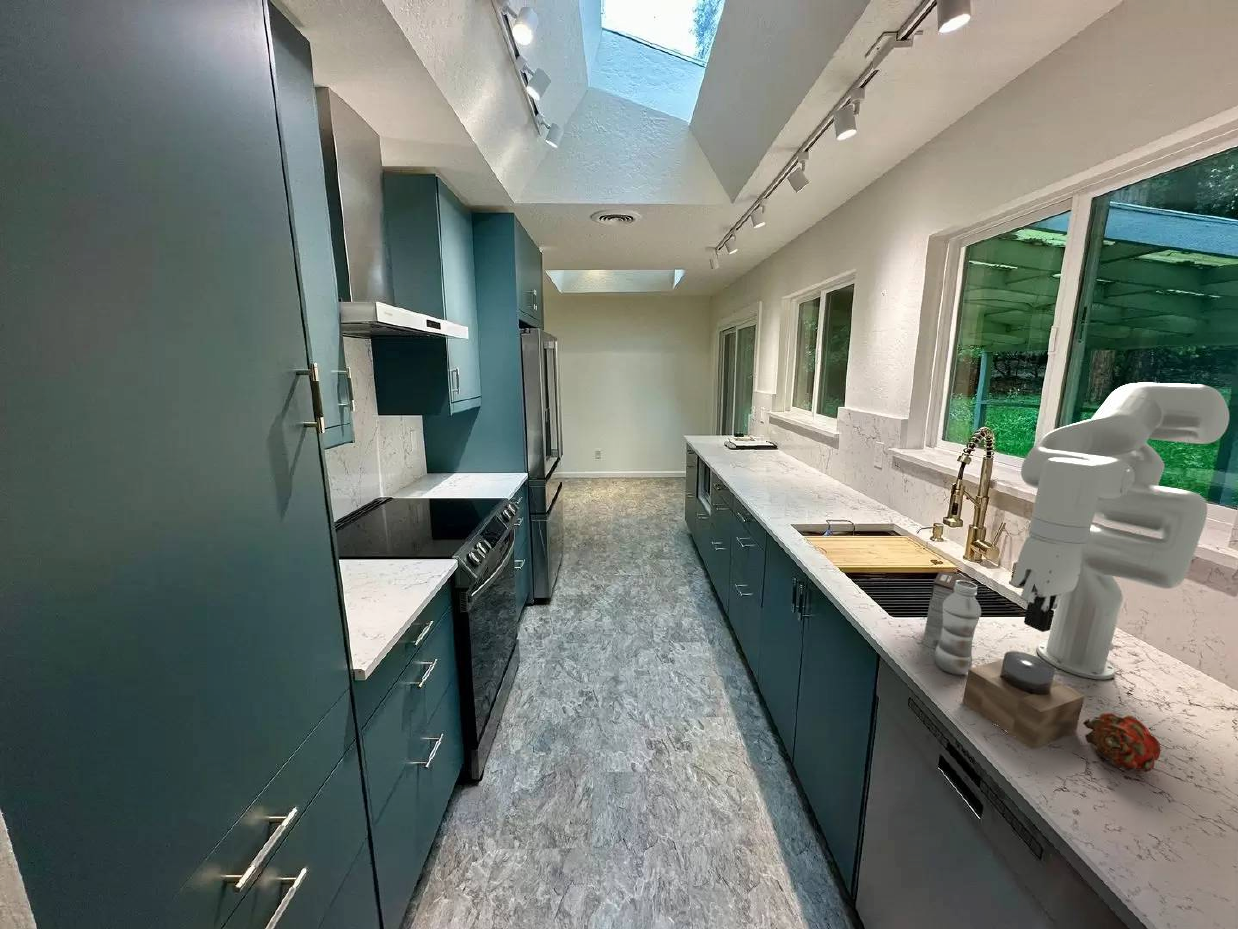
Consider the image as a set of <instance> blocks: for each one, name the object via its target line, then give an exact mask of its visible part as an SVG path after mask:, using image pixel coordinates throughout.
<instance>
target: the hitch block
mask: <svg viewBox="0 0 1238 929" xmlns="http://www.w3.org/2000/svg"><path fill="white" fill-rule="evenodd" d="M1003 660H1004V658H1002V659H998V660H995V661H992V662H988V663H985V664H981V665H978V666H975V667H971V668H970V669H969V670H968V672H967V676H966V681H965V686H964V690H963V691H964V692H963V696H962V701H961V703H962V702H963V703H962V704H964V705H965V706H966V707H968V706H969V707H968V708H970V709H971V708H972V709H971V710H973V711H975V712H976V713H977V712H978V713H977V714H978V715H980V714H981V715H980V716H981V717H983V718H984V719H986V718H987V719H986V720H988V721H989V720H990V721H989V722H990V723H992V724H994V725H995V724H996V725H995V726H997V725H998V726H999V727H998V726H997V727H998V728H999V729H1001V728H1002V730H1003V731H1004V730H1006V731H1007V732H1008V733H1007V732H1006V731H1005V732H1006V733H1007V734H1008V735H1010V734H1011V735H1010V736H1012V737H1013V736H1015V737H1016V738H1017V739H1016V738H1015V737H1014V738H1015V739H1016V740H1018V741H1019V740H1020V741H1019V742H1021V743H1022V742H1023V743H1022V744H1024V745H1025V744H1026V745H1025V746H1027V747H1028V748H1030V749H1031V750H1035V749H1037V748H1039V747H1041V746H1044V745H1046V744H1049V743H1052V742H1054V741H1057V740H1059V739H1061V738H1064V737H1067V736H1069V735H1073V734H1074V733H1076V732H1077V730H1078V729H1077V728H1078V724H1079V720H1080V717H1081V713H1082V709H1083V705H1084V702H1085V701H1084V700H1085V695H1084V694H1081V693H1080V692H1078V691H1076V690H1074V689H1071V688H1070V687H1069V686H1066V685H1064V684H1063V683H1061V682H1058V681H1057V680H1055V679H1053V681H1052V685H1051V689H1050V693H1049V694H1047V695H1035V694H1033V695H1031V694H1029V693H1027V692H1024V691H1021V690H1019V689H1017V688H1015V687H1013V686H1011V685H1009V684H1008V683H1007V682H1005V681H1004V680H1003V679H1002V677H1001V669H1002V665H1003Z"/></svg>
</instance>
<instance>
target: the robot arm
mask: <svg viewBox="0 0 1238 929" xmlns="http://www.w3.org/2000/svg"><path fill="white" fill-rule="evenodd" d="M1229 423H1230V410H1229V408H1228V405H1227V402H1226V400H1225V398H1224V396H1223V395H1222V394H1221V392H1219V391H1218V390H1217V389H1216V388H1214V387H1211V386H1209V385H1205V384H1195V383H1194V384H1191V383H1165V382H1164V383H1160V382H1158V383H1157V382H1137V383H1135V382H1134V383H1128V384H1125V385H1122V386H1120V387H1118V388H1117V389H1115V390H1114V391H1112V392H1111V393H1110V394H1109V396H1108V397H1107V398H1106V399H1105V401H1104V402H1103V403H1102V404H1101V406H1100V407H1099V409H1098V410H1097V411H1096V412H1095V413H1094V415H1093V416H1092V417H1091V419H1086V420H1082V421H1079V422H1076V423H1071V424H1069V425H1066V426H1062V427H1059V428H1056V429H1054V430H1051V431H1049V432H1048V433H1046V434H1045V435H1043V436H1041V437H1040V439H1039V440H1038V441H1037V442H1036V443H1035V444H1034V445H1033V447H1032V448H1031V449H1030V450H1029V452H1028V453H1027V455H1026V456H1025V458H1024V460H1023V462H1022V465H1021V468H1020V469H1021V470H1020V475H1021V478H1022V481H1023V482H1024V483H1025V484H1026V485H1027V486H1029V487H1031V488H1034V489H1036V495H1035V498H1034V499H1035V500H1034V503H1033V504H1034V505H1033V509H1032V513H1031V518H1030V523H1029V526H1028V527H1029V528H1028V532H1027V534H1028V535H1027V537H1026V538H1025V540H1024V542H1023V545H1022V547H1021V550H1020V552H1019V555H1018V559H1017V562H1016V564H1015V565H1016V566H1015V570H1014V573H1013V576H1012V577H1013V578H1012V582H1011V584H1012V586H1013V587H1014V588H1016V589H1020V588H1022V591H1021V594H1020V600H1023V601H1025V602H1026V605H1027V606H1026V611H1025V616H1024V620H1023V623H1024V625H1026V626H1028V627H1031V628H1032V629H1035V630H1037V631H1038V632H1042V633H1044V632H1048V631H1049V635H1048V639H1047V640H1046V641H1045V640H1044V641H1041V642H1039V643H1038V644H1037V646H1036V652H1037V654H1038V655H1039V656H1040V658H1041V659H1042V660H1044V661H1046V662H1047V663H1049V664H1050V665H1051V666H1054V667H1056V668H1058V669H1060V670H1061V671H1064V672H1068V673H1069V674H1072V675H1076V676H1078V677H1083V678H1087V679H1091V680H1110V679H1112V678H1114V676H1115V673H1116V668H1115V667H1114V665H1113V664H1112V663H1110V662H1109V661H1108V657H1109V653H1110V651H1114V649H1115V646H1114V644H1113V643H1112V642H1113V639H1114V634H1115V630H1116V627H1117V624H1118V620H1119V616H1120V612H1121V608H1122V605H1123V600H1124V597H1123V592H1122V590H1121V587H1120V586H1119V584H1118V582H1117V580H1116V579H1115V578H1114V577H1116V578H1121V579H1125V580H1127V581H1128V580H1129V581H1131V582H1135V583H1138V584H1143V585H1147V586H1151V587H1155V588H1159V589H1163V590H1166V589H1167V590H1168V589H1169V590H1171V589H1175V588H1177V587H1179V586H1180V585H1181V584H1182V582H1184V580H1185V578H1186V576H1187V574H1188V571H1189V570H1190V567H1191V563H1192V561H1193V557H1194V554H1195V553H1196V549H1197V547H1198V544H1199V541H1200V539H1201V535H1202V534H1203V530H1204V527H1205V523H1206V520H1207V516H1208V504H1207V501H1206V499H1205V498H1204V497H1203V496H1202V495H1201V494H1199V493H1197V492H1194V491H1190V490H1187V489H1186V490H1185V489H1180V488H1174V487H1168V486H1160V485H1159V483H1160V481H1161V478H1162V475H1163V474H1164V471H1165V463H1164V460H1162V457H1161V456H1160V454H1158V453H1157V451H1156V450H1155V449H1154V448H1153V447H1152V446H1151V445H1149V443H1147V442H1148V441H1149V440H1157V441H1165V442H1166V441H1167V442H1176V443H1185V444H1186V443H1187V444H1197V445H1198V444H1199V445H1201V444H1202V445H1206V444H1211V443H1215V442H1216V441H1217V440H1219V439H1220V438H1221V437H1223V435H1224V434H1225V432H1226V430H1227V429H1228V425H1229ZM1094 518H1095V519H1097V520H1100V521H1101V522H1105V523H1107V524H1108V523H1109V524H1112V525H1117V526H1121V527H1125V528H1131V529H1134V530H1135V529H1136V530H1140V531H1143V532H1144V531H1145V532H1147V533H1154V534H1157V535H1159V536H1160V537H1161V538H1158V537H1154V536H1150V535H1145V534H1140V533H1137V532H1132V531H1129V530H1123V529H1120V528H1114V527H1109V526H1104V525H1100V524H1093V521H1094Z"/></svg>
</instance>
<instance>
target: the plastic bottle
mask: <svg viewBox="0 0 1238 929" xmlns="http://www.w3.org/2000/svg"><path fill="white" fill-rule="evenodd" d="M953 590H954V591H955V592H954V593H952V594H951V595H949V596H948V597H947V598H946V599H945V600H944V602H943V625H942V626H943V627H942V633H941V637H940V640H939V644H938V645H937V647H936V649H935V650H934V655H933V656H934V662H935V664H936V665H937V667H938V668H940V669H941V670H943V671H944V672H947V673H949V674H953V675H958V676H959V675H960V676H962V675H965V674H968V670H969V669H970V668H972V667H973V655H972V651H973V639H974V635H975V631H976V628H977V625H978V623H979V620H980V618H981V615H982V609H981V605H980V603H979V602H978V600H977V599H976V596H977V594H978V593H977V592H978V591H977V590H978V585H977V584H975V583H973V582H972V581H971V582H968V581H961V580H959V581H956V583H955V587H954V589H953Z"/></svg>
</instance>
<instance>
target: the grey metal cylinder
mask: <svg viewBox="0 0 1238 929" xmlns="http://www.w3.org/2000/svg"><path fill="white" fill-rule="evenodd" d="M1003 659H1004V660H1003V665H1002V669H1001V677H1002V679H1003V680H1004V681H1005V682H1007V683H1008V684H1009V685H1011V686H1013V687H1015V688H1017V689H1019V690H1021V691H1024V692H1027V693H1029V694H1031V695H1033V694H1035V695H1047V694H1049V693H1050V689H1051V685H1052V681H1053V680H1054V676H1055V672H1056V670H1055V668H1054V667H1053V665H1052V664H1050V663H1049V662H1047V661H1046V660H1044V659H1043V658H1041V657H1040V658H1039V657H1037V656H1036V655H1033V654H1029V653H1027V652H1022V651H1014V650H1011V651H1007V652H1005V653H1004V657H1003Z"/></svg>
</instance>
